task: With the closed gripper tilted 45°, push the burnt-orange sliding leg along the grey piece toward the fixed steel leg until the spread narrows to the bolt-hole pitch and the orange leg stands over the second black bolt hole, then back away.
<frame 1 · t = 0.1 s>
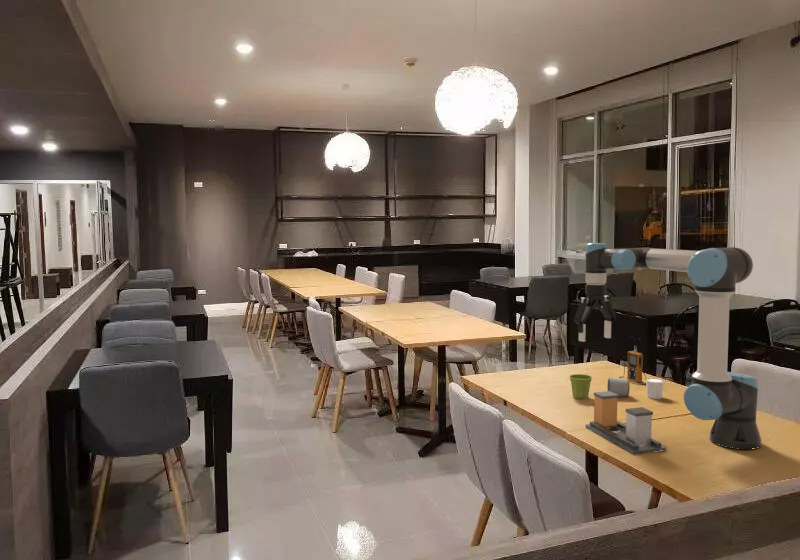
hand: (594, 339, 250), 28 cm above the table, tool pointing down, fingers open, 13 cm apart
plant pot: (580, 397, 273), on the table
grey piece: (623, 438, 222), on the table
shot glass: (654, 397, 272), on the table
multimeter: (627, 382, 298), on the table
ceramic mug: (616, 395, 275), on the table
orange divider leg: (605, 408, 232), point 7 cm above the table, slide at 0.0 cm
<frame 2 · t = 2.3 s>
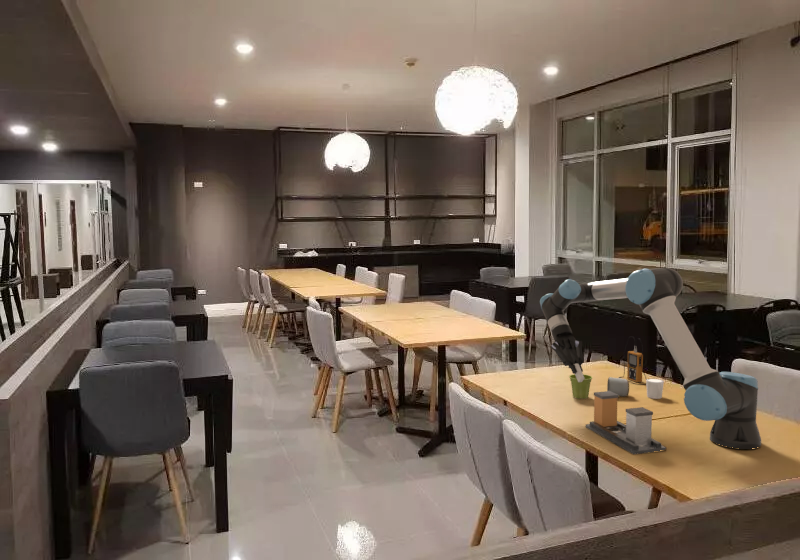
hand: (581, 380, 246), 14 cm above the table, tool tilted 45°, fingers closed
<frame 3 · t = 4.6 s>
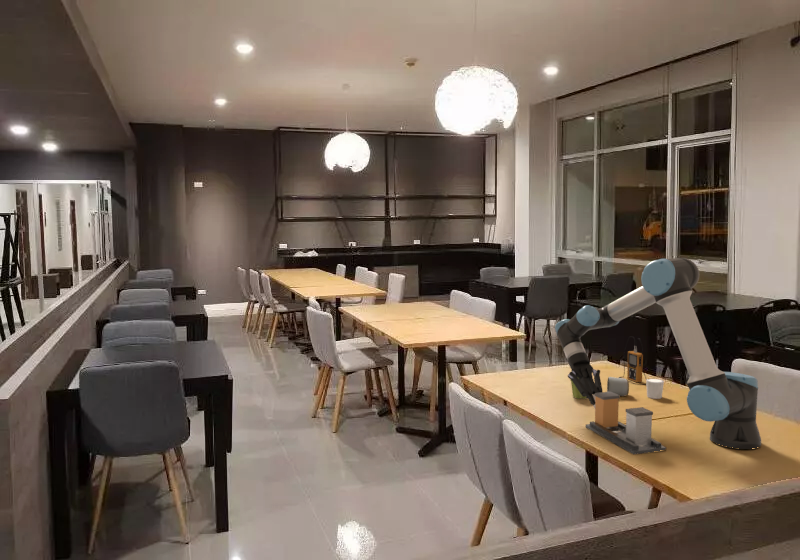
hand: (600, 412, 235), 5 cm above the table, tool tilted 45°, fingers closed
orange divider leg: (606, 409, 232), point 7 cm above the table, slide at 0.7 cm, touching gripper
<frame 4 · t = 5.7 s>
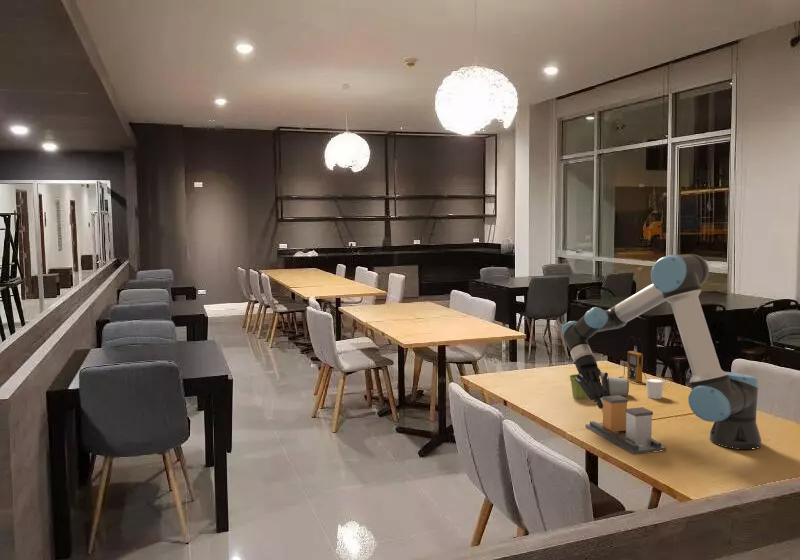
hand: (608, 415, 231), 5 cm above the table, tool tilted 45°, fingers closed
orange divider leg: (614, 413, 227), point 7 cm above the table, slide at 5.5 cm, touching gripper
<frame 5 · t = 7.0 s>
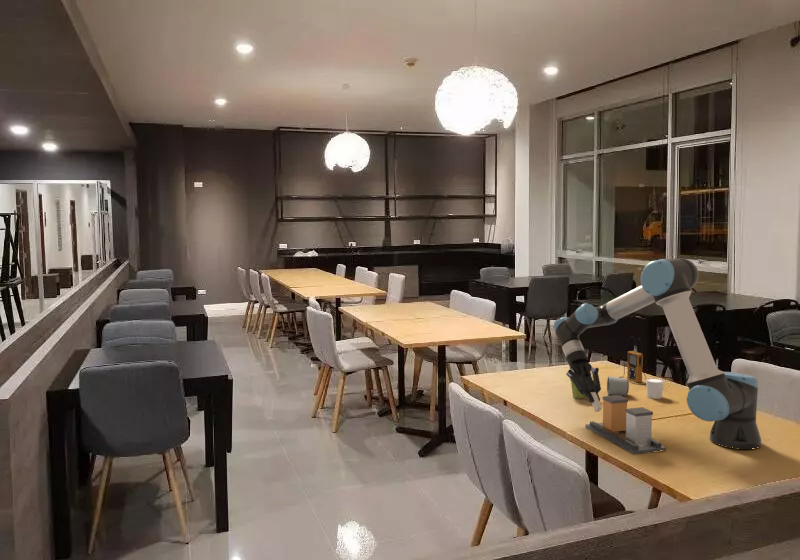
hand: (598, 409, 236), 6 cm above the table, tool tilted 45°, fingers closed
orange divider leg: (614, 413, 227), point 7 cm above the table, slide at 5.6 cm
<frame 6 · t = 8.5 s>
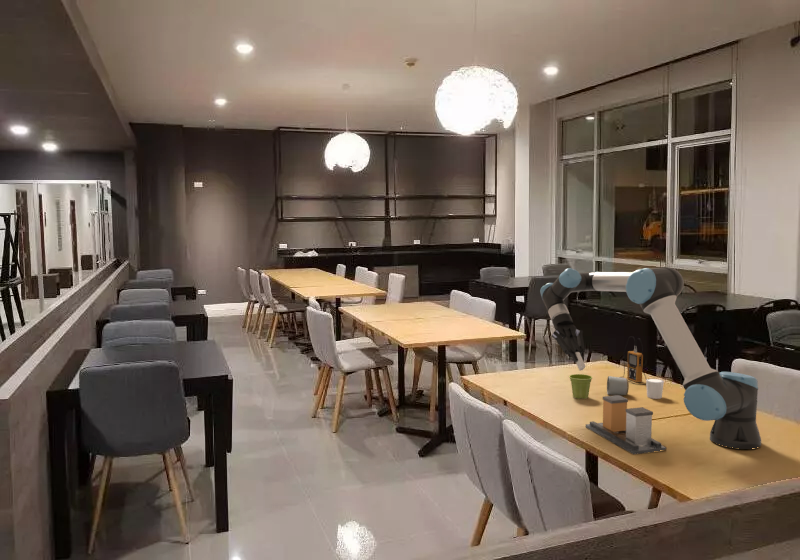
hand: (582, 368, 246), 18 cm above the table, tool tilted 45°, fingers closed
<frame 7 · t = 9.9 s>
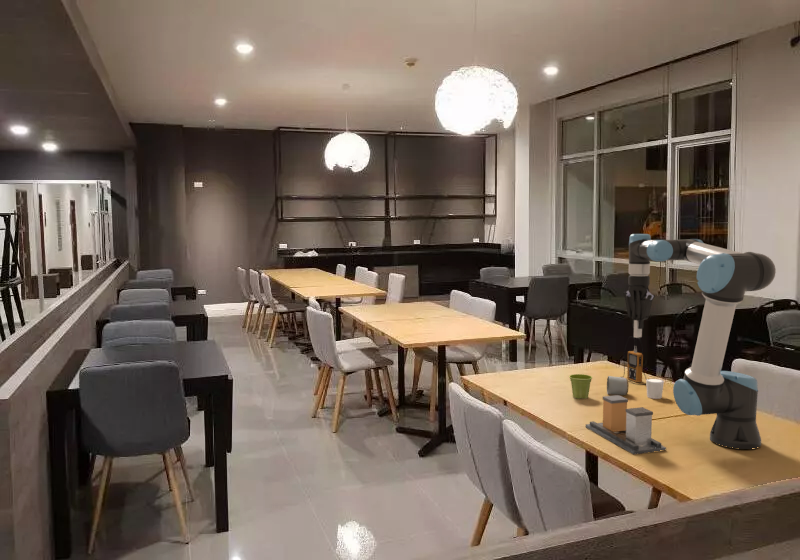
hand: (637, 337, 249), 29 cm above the table, tool pointing down, fingers closed
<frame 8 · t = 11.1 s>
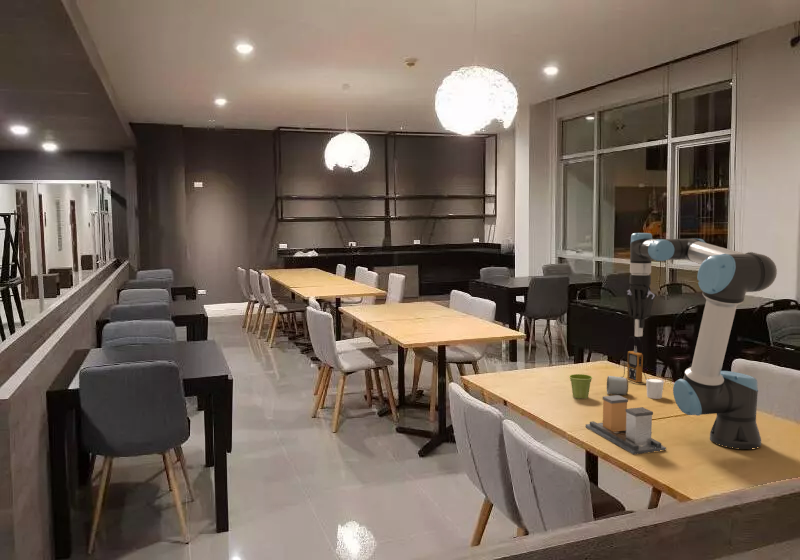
hand: (638, 336, 249), 29 cm above the table, tool pointing down, fingers closed
at the end: orange divider leg slide at 5.6 cm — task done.
